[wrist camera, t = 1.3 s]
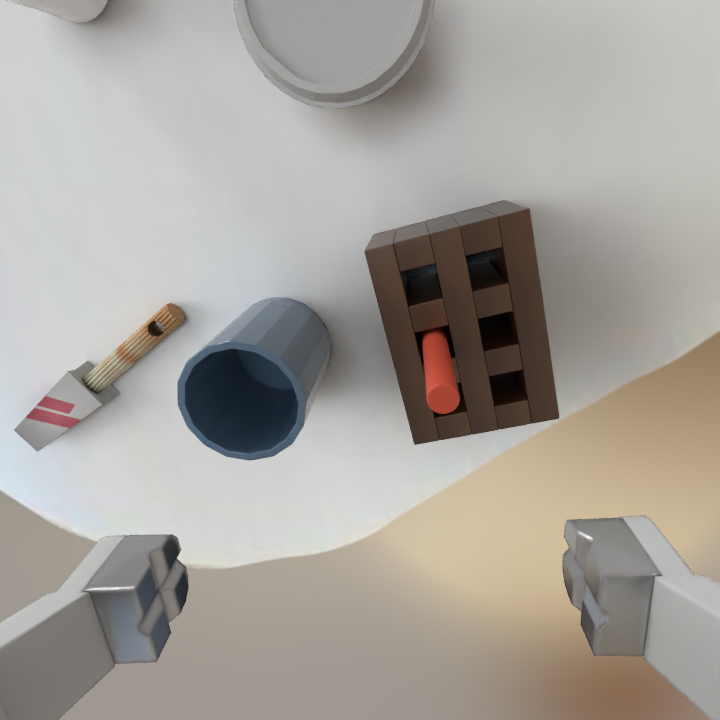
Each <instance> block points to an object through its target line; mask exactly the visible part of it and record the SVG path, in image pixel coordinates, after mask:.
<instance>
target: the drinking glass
mask: <svg viewBox="0 0 720 720" xmlns="http://www.w3.org/2000/svg"><path fill="white" fill-rule="evenodd" d="M6 1H9V2H13V3H16V4H19V5H23V6H26V7H29V8H33V9H36V10H39V11H42V12H46V13H49V14H51V15H54V16H56V17H58V18H61V19H63V20H66V21H69V22H74V23H83V22H88V21H90V20H92V19H94V18H96V17H97V16H98V15H99V14H100V13H101V12H102V11H103V10H104V8H105V6H106V4H107V2H108V0H6Z"/></svg>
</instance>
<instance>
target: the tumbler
mask: <svg viewBox="0 0 720 720" xmlns="http://www.w3.org/2000/svg"><path fill="white" fill-rule="evenodd" d="M330 354H331V342H330V337H329V334H328V331H327V329H326V327H325V325H324V323H323V322H322V320H321V319H320V317H319V316H318V315H317V314H316V313H315V312H314V311H312V310H311V309H310V308H309V307H307V306H306V305H304V304H302V303H300V302H297V301H295V300H291V299H287V298H270V299H265V300H262V301H260V302H258V303H256V304H254V305H252V306H251V307H250V308H248V309H247V310H246V311H245V312H244V313H242V314H241V315H240V316H239V317H237V318H236V319H235V320H234V321H233V322H232V323H231V324H229V325H228V326H227V327H226V328H225V329H224V330H222V331H221V332H220V333H219V334H218V335H217V336H216V337H214V338H213V339H212V340H211V341H210V342H209V343H207V344H206V345H205V346H204V347H203V348H202V349H201V350H199V351H198V352H197V353H196V354H195V355H194V356H192V357H191V358H190V359H189V360H188V361H187V363H186V365H185V367H184V369H183V371H182V373H181V375H180V378H179V380H178V406H179V409H180V411H181V413H182V416H183V418H184V420H185V423H186V425H187V426H188V428H189V429H190V430H191V431H192V432H193V433H194V434H195V435H196V437H197V438H198V439H199V440H200V441H201V442H202V443H203V444H205V445H206V446H207V447H209V448H211V449H213V450H215V451H217V452H219V453H221V454H222V455H224V456H227V457H232V458H238V459H244V460H256V459H261V458H267V457H272V456H275V455H276V454H278V453H279V452H281V451H282V450H284V449H285V448H287V447H288V446H290V445H291V444H292V443H293V442H294V440H295V439H296V437H297V436H298V434H299V432H300V431H301V429H302V427H303V426H304V423H305V421H306V419H307V416H308V414H309V411H310V409H311V406H312V404H313V402H314V399H315V397H316V394H317V392H318V389H319V387H320V384H321V382H322V380H323V377H324V375H325V372H326V370H327V367H328V363H329V359H330Z"/></svg>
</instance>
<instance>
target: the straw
mask: <svg viewBox="0 0 720 720" xmlns="http://www.w3.org/2000/svg"><path fill="white" fill-rule="evenodd" d="M421 332H422V345H423V358H424V370H425V383H426V395H427V403H428V406H429V407H430V408H431V409H432V410H433V411H434V412H436V413H440V414H447V413H450V412H452V411H453V410H455V409H456V408H457V406H458V405H459V402H460V396H459V391H458V387H457V382H456V378H455V373H454V369H453V365H452V360H451V356H450V351H449V347H448V342H447V338H446V333H445V329H444V326H443V327H438V328H434V329H429V330H425V331H421Z"/></svg>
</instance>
